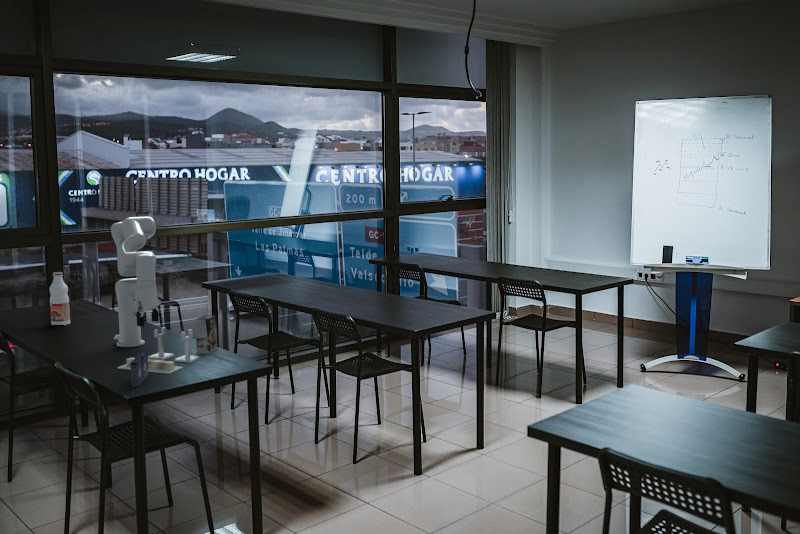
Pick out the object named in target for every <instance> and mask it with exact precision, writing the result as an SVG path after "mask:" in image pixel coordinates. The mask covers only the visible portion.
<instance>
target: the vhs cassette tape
mask: <svg viewBox="0 0 800 534" xmlns="http://www.w3.org/2000/svg"><path fill="white" fill-rule="evenodd" d="M148 356H149V354H148V351H146V350H145V351H141V352H140V353H138V355H136V356H135V357H134V358H135V359H134V360H133V361H132V362H131V363H130V367H131V370H130V379H131V380H130V381H131V382H130V383H131V388H139V387H140V385H142V383H143V382H144V381H145V380H146V378H147V377H148V376H149V374H150V372H148ZM144 379H145V380H144ZM138 386H139V387H138Z"/></svg>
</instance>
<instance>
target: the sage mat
mask: <svg viewBox="0 0 800 534" xmlns="http://www.w3.org/2000/svg"><path fill="white" fill-rule="evenodd" d="M116 368H117V369H120V370H129V371H131V367H130V366H126V364H125V363H124V364H122V365H120V366H118V367H116ZM181 369H184V366H177V365H174V369H172V370H161V369H152V368H148V373H158V374H166V375H167V374H168V375H170V374H172V373H175V372H177V371H179V370H181Z"/></svg>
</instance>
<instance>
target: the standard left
mask: <svg viewBox="0 0 800 534" xmlns="http://www.w3.org/2000/svg"><path fill="white" fill-rule="evenodd" d="M166 335H167V327H164V326H163V327H161V333H160V332H159V329H154V330H153V337H154V338H156V339H157V349H158V351H157V353H154V354H151V355H148V359H152V360H163V361H166V360H167V359H170V358H174V357H175V353H172V352H170V353H168V352H164V349H165V348H164V336H166Z"/></svg>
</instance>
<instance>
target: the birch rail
mask: <svg viewBox="0 0 800 534" xmlns="http://www.w3.org/2000/svg"><path fill="white" fill-rule="evenodd" d="M135 358H136V357H131V356H130V357H129V358H126V359H125V363H126V366H130V363H131V362H132V361H133V360H134V359H135ZM174 366H175V361H171V360H156V359H148V368H152V369H161V370H172V369H174Z"/></svg>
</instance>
